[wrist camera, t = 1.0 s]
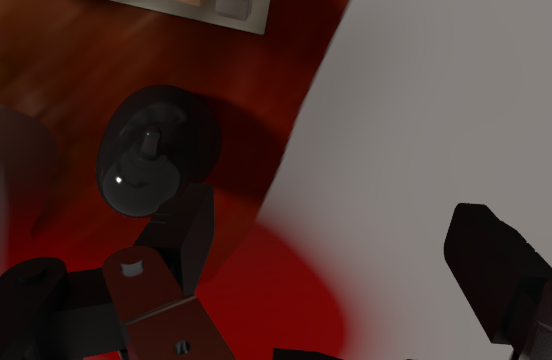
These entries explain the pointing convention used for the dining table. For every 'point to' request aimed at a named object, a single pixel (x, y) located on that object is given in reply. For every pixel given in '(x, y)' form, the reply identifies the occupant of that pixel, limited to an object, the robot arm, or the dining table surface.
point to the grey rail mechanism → (215, 12)
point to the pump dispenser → (156, 149)
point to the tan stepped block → (194, 2)
